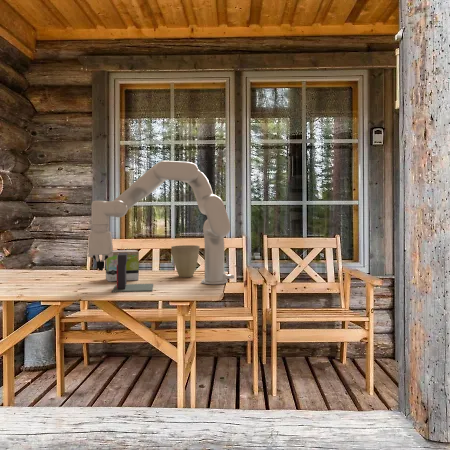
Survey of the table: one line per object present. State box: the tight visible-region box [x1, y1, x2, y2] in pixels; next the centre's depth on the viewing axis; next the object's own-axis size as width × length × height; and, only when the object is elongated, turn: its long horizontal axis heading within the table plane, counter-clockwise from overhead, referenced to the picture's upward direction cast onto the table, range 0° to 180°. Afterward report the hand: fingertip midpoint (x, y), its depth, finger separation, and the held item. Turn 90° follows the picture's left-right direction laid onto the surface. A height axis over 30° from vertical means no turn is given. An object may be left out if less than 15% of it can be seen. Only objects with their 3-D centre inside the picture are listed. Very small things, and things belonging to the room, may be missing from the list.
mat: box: [111, 283, 154, 293], centre depth 197 cm, size 17×16×1 cm
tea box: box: [105, 249, 140, 282], centre depth 222 cm, size 15×10×15 cm, turn 112°
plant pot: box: [171, 244, 201, 278], centre depth 233 cm, size 15×15×16 cm
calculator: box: [116, 253, 128, 289], centre depth 196 cm, size 11×4×15 cm, turn 9°
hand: (100, 270), depth 195 cm, fingers closed
